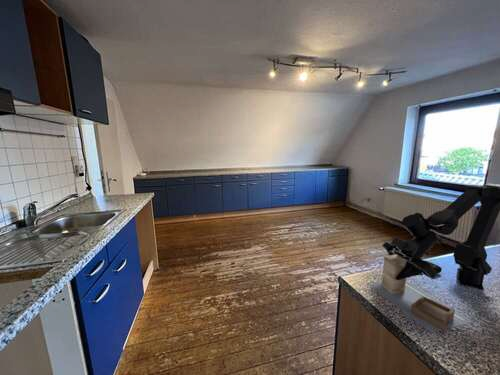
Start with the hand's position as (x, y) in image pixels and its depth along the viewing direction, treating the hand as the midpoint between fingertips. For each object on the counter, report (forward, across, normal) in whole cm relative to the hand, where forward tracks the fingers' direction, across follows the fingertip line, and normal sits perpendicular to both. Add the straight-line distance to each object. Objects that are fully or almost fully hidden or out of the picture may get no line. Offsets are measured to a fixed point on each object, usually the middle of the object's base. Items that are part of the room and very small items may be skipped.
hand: (390, 275), depth 81 cm
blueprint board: (+2, +7, +7) cm, 10 cm away
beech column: (+3, 0, +5) cm, 6 cm away
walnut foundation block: (+2, +14, +6) cm, 15 cm away
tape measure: (-14, -10, +24) cm, 30 cm away
